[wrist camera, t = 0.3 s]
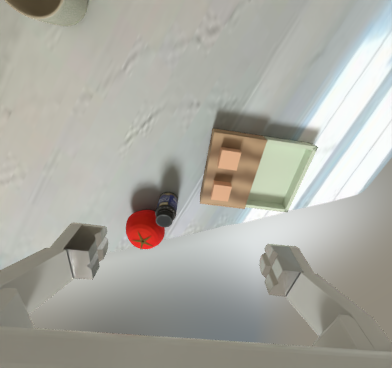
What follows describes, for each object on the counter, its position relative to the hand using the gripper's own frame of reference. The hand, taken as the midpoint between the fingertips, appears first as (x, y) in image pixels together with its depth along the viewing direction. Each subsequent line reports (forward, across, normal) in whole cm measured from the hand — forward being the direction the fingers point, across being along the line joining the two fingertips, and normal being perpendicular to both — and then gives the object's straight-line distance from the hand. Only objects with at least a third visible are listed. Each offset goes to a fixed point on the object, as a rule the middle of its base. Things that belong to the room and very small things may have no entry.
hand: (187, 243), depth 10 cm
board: (+46, -13, +14) cm, 50 cm away
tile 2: (+42, -11, +19) cm, 47 cm away
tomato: (+46, +10, +37) cm, 61 cm away
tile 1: (+42, -11, +9) cm, 44 cm away
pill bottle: (+46, +4, +28) cm, 55 cm away
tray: (+46, -27, +14) cm, 56 cm away
